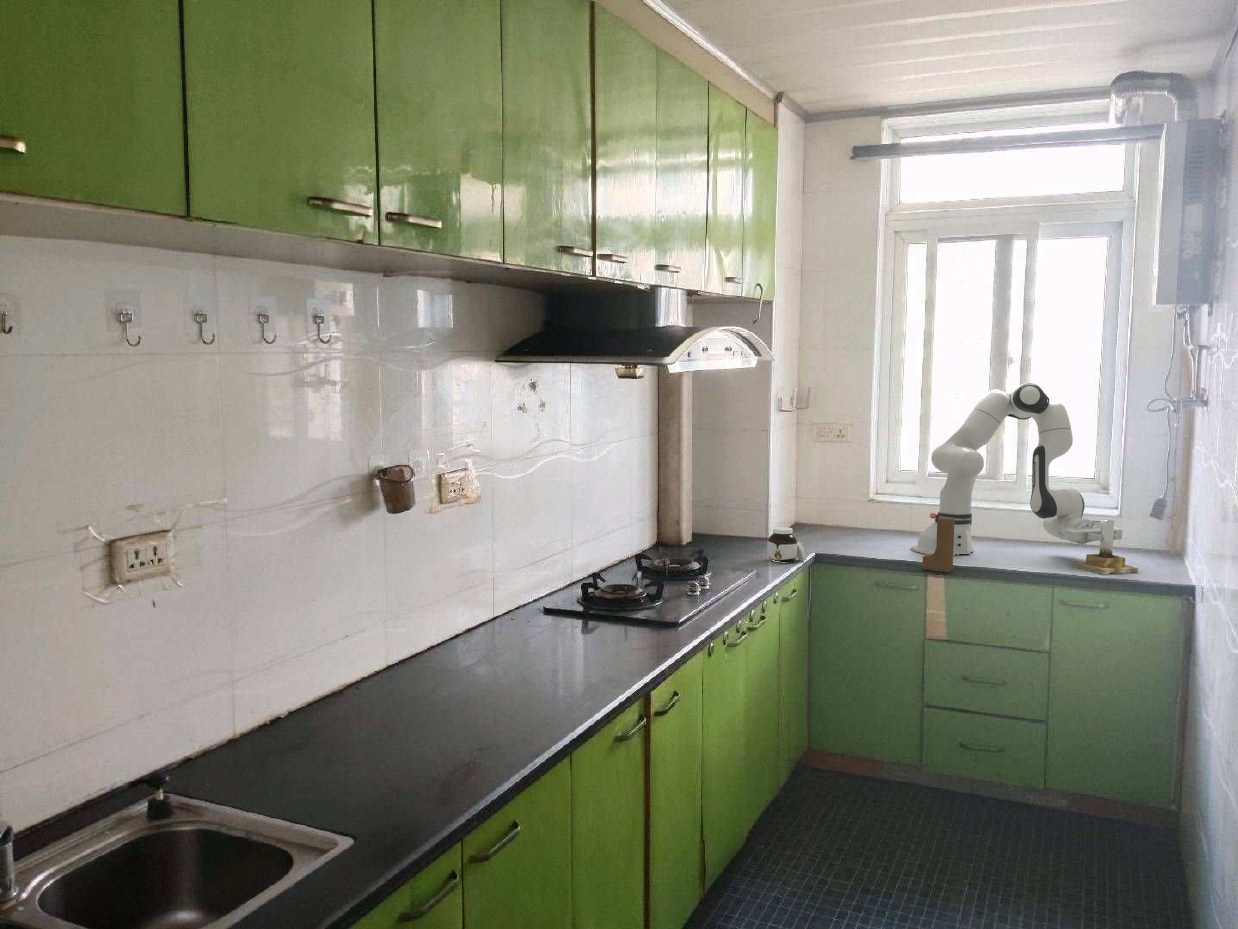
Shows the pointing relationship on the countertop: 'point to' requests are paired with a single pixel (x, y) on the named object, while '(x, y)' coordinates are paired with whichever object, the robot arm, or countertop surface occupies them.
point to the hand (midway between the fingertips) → (1108, 538)
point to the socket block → (1105, 564)
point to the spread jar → (784, 546)
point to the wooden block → (942, 547)
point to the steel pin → (1106, 538)
